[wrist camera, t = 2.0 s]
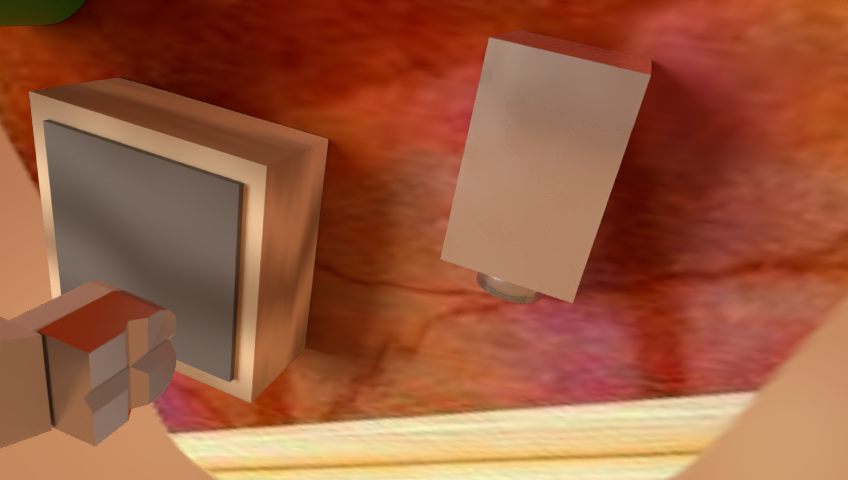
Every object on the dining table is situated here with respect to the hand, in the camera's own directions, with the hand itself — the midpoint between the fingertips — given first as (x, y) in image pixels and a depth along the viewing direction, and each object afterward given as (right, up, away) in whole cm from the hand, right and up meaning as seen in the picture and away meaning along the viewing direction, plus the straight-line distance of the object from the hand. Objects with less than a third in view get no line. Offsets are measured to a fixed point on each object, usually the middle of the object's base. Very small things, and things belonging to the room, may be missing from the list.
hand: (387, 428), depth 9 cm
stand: (-10, +4, +22) cm, 25 cm away
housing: (+6, +7, +15) cm, 17 cm away
